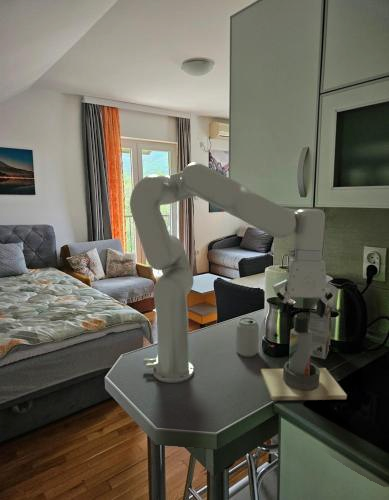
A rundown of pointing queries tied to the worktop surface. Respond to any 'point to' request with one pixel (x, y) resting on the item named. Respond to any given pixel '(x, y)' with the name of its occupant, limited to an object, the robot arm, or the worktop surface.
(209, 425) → the worktop surface
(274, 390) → the bottle holder
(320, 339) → the coffee box
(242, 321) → the can
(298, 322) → the lotion bottle
